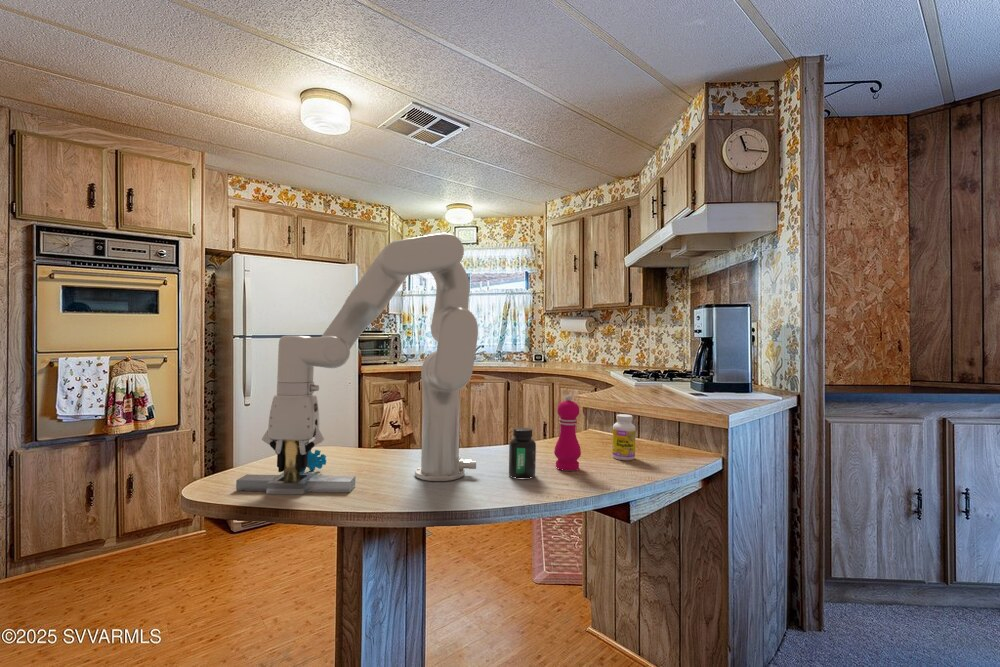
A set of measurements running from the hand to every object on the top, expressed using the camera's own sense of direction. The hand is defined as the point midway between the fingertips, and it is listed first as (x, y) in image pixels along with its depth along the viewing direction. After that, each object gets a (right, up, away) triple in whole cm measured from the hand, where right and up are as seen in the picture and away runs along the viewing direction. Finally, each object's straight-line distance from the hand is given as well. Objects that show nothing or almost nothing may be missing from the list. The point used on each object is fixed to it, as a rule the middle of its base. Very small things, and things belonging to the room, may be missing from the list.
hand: (292, 469), depth 106 cm
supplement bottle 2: (+84, -7, +35) cm, 91 cm away
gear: (-2, -5, +12) cm, 13 cm away
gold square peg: (0, -2, 0) cm, 2 cm away
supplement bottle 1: (+53, -6, +14) cm, 55 cm away
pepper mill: (+66, -6, +22) cm, 69 cm away
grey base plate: (0, -4, 0) cm, 4 cm away
